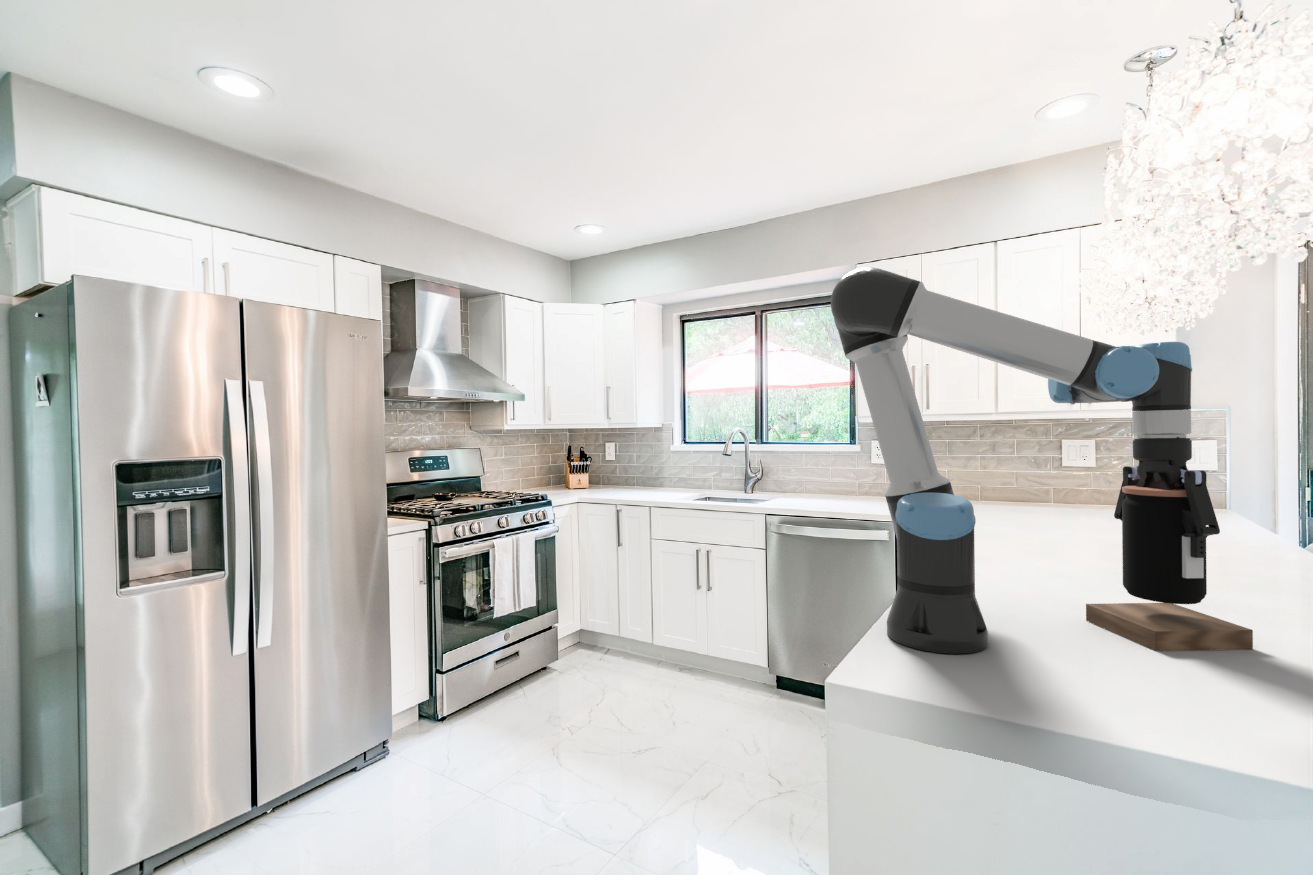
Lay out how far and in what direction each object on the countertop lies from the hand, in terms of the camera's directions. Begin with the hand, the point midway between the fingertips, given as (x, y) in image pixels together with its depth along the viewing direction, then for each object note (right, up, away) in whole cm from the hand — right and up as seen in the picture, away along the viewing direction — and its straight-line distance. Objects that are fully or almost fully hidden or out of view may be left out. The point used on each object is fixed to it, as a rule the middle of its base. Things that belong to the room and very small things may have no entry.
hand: (1162, 569), depth 101 cm
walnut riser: (0, -11, 0) cm, 11 cm away
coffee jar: (0, -5, 0) cm, 5 cm away
